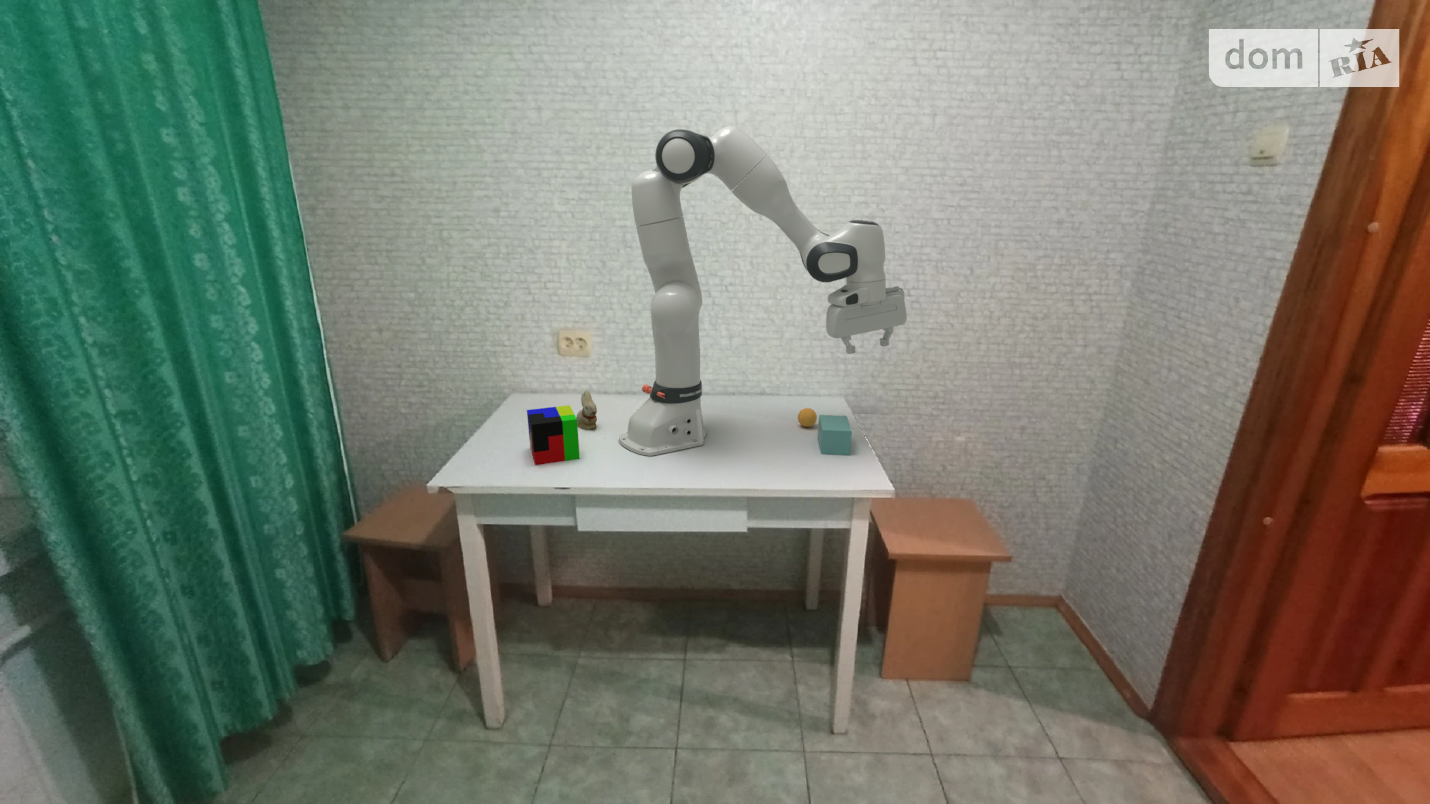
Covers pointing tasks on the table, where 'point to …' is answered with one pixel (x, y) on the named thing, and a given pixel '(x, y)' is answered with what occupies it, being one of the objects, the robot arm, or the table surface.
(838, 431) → the teal rectangular box
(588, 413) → the chocolate bunny
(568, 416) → the puzzle toy
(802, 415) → the ball
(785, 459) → the table surface
